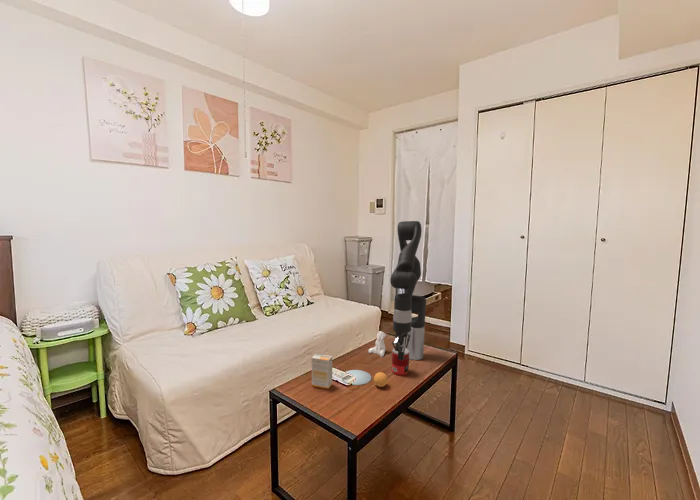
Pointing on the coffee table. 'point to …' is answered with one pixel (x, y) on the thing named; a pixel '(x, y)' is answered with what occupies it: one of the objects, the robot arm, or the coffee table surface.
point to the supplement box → (322, 371)
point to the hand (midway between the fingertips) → (401, 359)
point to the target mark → (360, 377)
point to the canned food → (400, 363)
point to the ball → (380, 379)
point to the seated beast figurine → (379, 345)
